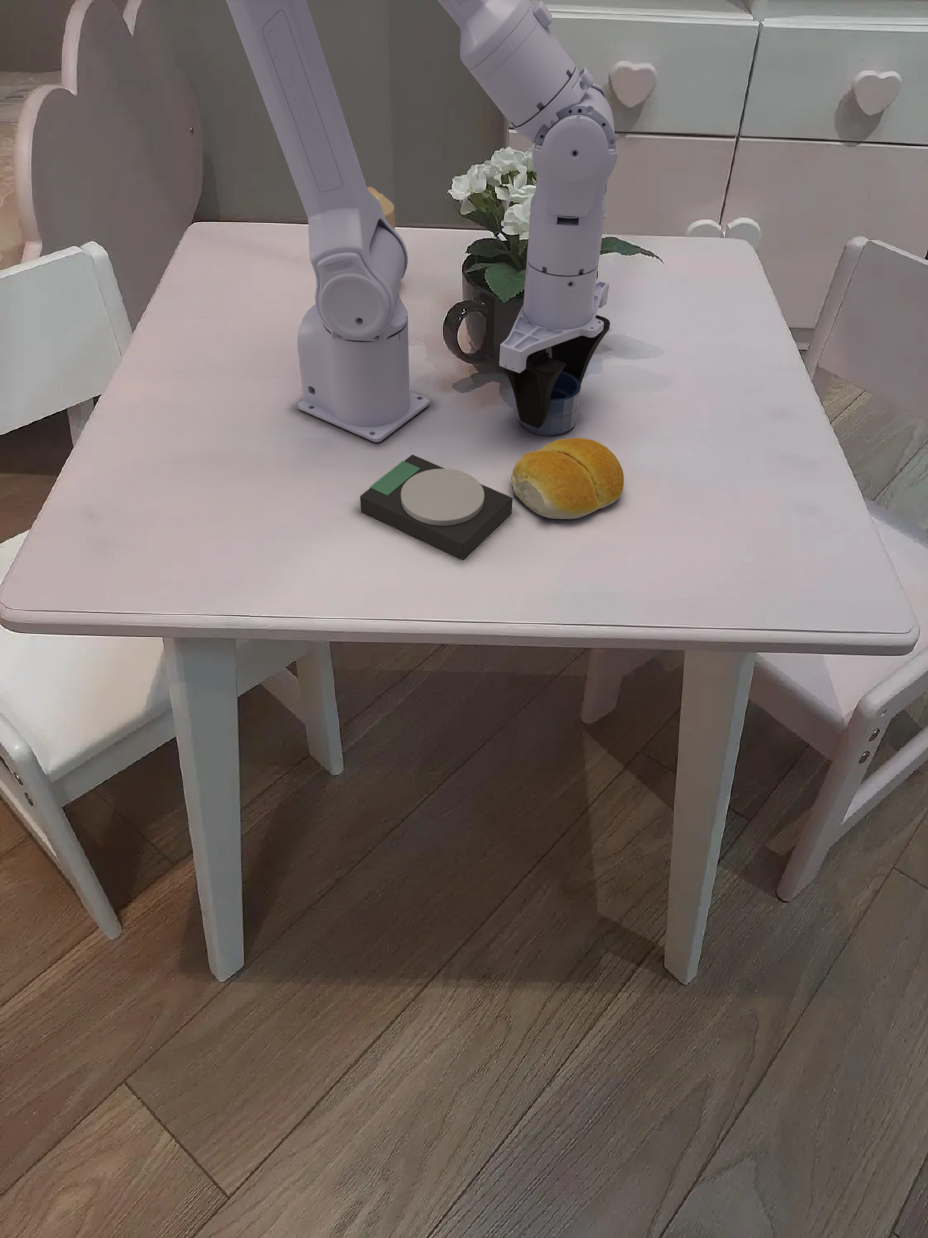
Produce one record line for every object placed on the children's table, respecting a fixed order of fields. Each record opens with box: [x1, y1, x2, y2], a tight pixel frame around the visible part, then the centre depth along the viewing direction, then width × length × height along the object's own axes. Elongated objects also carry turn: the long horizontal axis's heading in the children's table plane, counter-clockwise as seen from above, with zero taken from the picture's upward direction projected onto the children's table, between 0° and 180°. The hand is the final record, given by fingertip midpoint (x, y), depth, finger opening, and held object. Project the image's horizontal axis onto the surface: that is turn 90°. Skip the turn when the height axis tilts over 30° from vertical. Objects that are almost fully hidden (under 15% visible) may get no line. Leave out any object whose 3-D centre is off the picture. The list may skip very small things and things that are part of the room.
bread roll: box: [510, 437, 625, 520], centre depth 77 cm, size 8×9×4 cm
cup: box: [517, 371, 582, 437], centre depth 84 cm, size 5×5×4 cm
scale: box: [359, 454, 514, 560], centre depth 75 cm, size 10×7×2 cm
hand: (548, 408), depth 84 cm, fingers closed on cup, 5 cm apart
